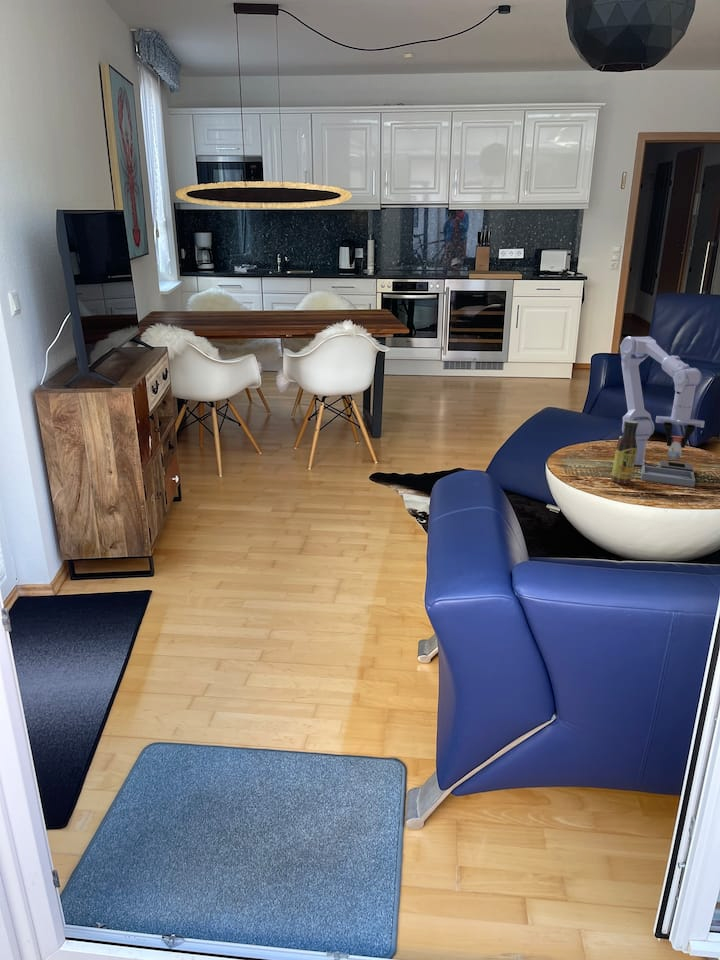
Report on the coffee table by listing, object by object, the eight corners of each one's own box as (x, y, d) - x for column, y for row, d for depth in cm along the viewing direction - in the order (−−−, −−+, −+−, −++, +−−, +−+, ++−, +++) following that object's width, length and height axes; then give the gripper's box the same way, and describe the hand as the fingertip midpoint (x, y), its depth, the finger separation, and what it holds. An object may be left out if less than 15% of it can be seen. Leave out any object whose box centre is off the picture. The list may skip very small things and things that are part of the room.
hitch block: (659, 472, 245) (661, 465, 245) (659, 467, 252) (660, 460, 252) (691, 477, 242) (693, 469, 241) (690, 471, 249) (691, 464, 248)
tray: (640, 479, 236) (641, 473, 235) (641, 471, 246) (642, 465, 245) (694, 487, 231) (695, 480, 230) (692, 478, 241) (693, 471, 240)
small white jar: (667, 458, 238) (670, 437, 236) (666, 455, 242) (670, 435, 240) (680, 460, 237) (684, 439, 235) (679, 457, 241) (683, 436, 238)
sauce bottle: (621, 485, 229) (630, 424, 223) (606, 480, 234) (615, 420, 228) (635, 483, 232) (645, 423, 226) (620, 478, 237) (630, 418, 231)
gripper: (659, 405, 233) (652, 446, 237) (708, 410, 228) (700, 451, 232) (658, 401, 239) (651, 441, 243) (706, 406, 235) (698, 446, 239)
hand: (675, 446), depth 238 cm, fingers closed on small white jar, 4 cm apart
